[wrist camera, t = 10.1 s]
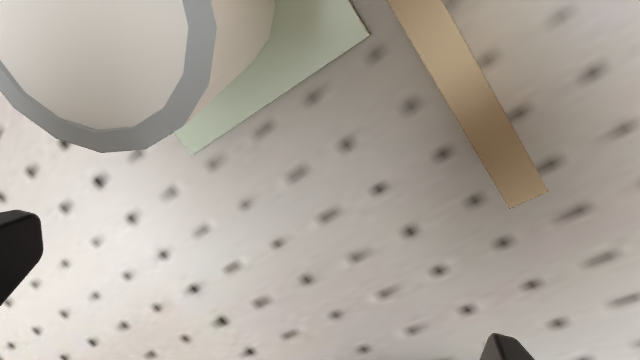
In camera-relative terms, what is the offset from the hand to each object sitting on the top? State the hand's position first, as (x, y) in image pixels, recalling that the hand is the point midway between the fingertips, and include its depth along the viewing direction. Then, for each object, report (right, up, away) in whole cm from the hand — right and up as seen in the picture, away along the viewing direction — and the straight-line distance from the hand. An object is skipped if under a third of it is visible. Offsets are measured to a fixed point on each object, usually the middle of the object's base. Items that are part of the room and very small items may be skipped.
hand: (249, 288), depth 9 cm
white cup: (-3, +9, +8) cm, 12 cm away
